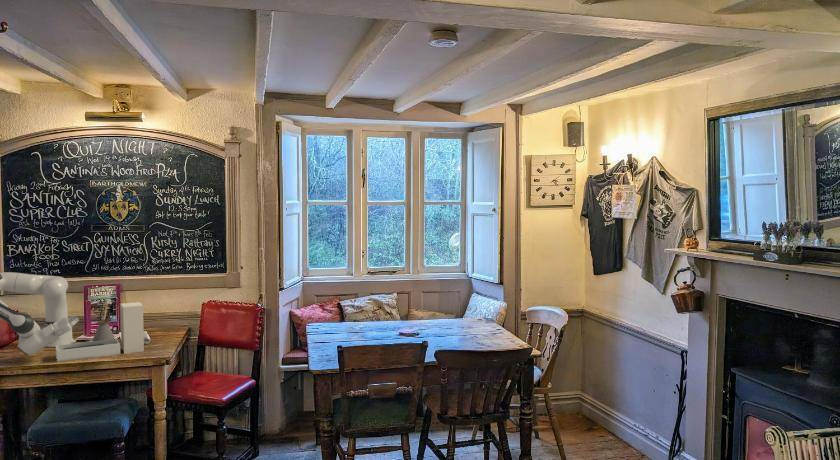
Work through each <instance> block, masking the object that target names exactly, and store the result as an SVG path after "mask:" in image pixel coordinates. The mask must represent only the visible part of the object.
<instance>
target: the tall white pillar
mask: <svg viewBox="0 0 840 460" xmlns="http://www.w3.org/2000/svg"><path fill="white" fill-rule="evenodd" d="M119 306H120V350H121V351H122V350H123V353H124V354H133V353H141V352H145V348H144V347H145V346H144V345H145V344H144V331H145V329H144V305H143V304H142V303H141V302H139V301H136V302H125V303H120V305H119Z"/></svg>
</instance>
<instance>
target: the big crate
mask: <svg viewBox="0 0 840 460" xmlns="http://www.w3.org/2000/svg"><path fill="white" fill-rule="evenodd" d="M97 344H105V345H100V346H91V347H83V348H74V349H65V350H63V348H70V347H79V346H88V345H97ZM110 355H111V356H117V355H118V356H119V355H121V342H120V341H119V340H118V338H114V339H110V340H101V341H84V342H75V343H71V344H65V345H56V347H55V358H56V359H57V360H56V363H62V362H61V361H63V362H69V361H68V360H71V361H77V360H78V359H79V360H86V359H95V358H103V357H109V356H110ZM102 356H103V357H102Z"/></svg>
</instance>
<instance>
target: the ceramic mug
mask: <svg viewBox="0 0 840 460" xmlns="http://www.w3.org/2000/svg"><path fill="white" fill-rule="evenodd" d="M150 343H151V340H150V339H149V338H148V337H147V333H146V331H145V330H144V345H149V344H150Z"/></svg>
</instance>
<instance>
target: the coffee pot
mask: <svg viewBox="0 0 840 460" xmlns="http://www.w3.org/2000/svg"><path fill="white" fill-rule="evenodd" d="M112 316H113V314H112V312H110V313H108V316H107V317H106V320H105V319H103V320H98V321H97V324H98V326H97V328H96V330H95V333H94V335H93V337H92V340H93V341H101V340H110V339H116V338H115V337H116V336H115V335H114V333H113V331H112V328H111V326H110V325H109V323H110V322H111V321H110V319H111V317H112Z"/></svg>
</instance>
